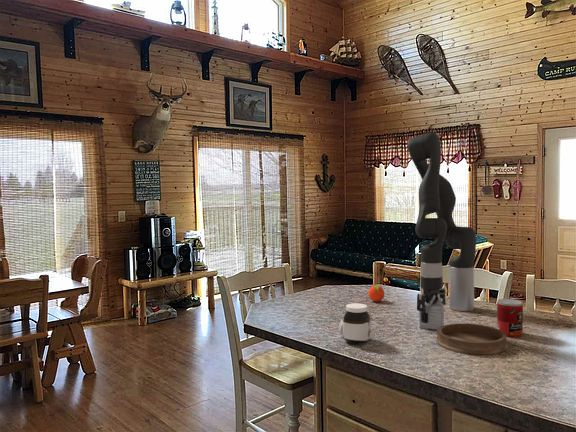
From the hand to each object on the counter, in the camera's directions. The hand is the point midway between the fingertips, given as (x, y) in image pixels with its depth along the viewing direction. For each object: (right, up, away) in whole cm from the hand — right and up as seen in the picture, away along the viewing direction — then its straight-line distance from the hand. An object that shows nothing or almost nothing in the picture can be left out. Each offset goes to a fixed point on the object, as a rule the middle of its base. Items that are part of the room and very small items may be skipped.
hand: (431, 320), depth 168 cm
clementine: (-12, -1, +40) cm, 42 cm away
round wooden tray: (+7, -4, -17) cm, 19 cm away
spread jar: (-29, -4, -10) cm, 31 cm away
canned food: (+24, -3, -9) cm, 25 cm away
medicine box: (0, -3, 0) cm, 3 cm away
